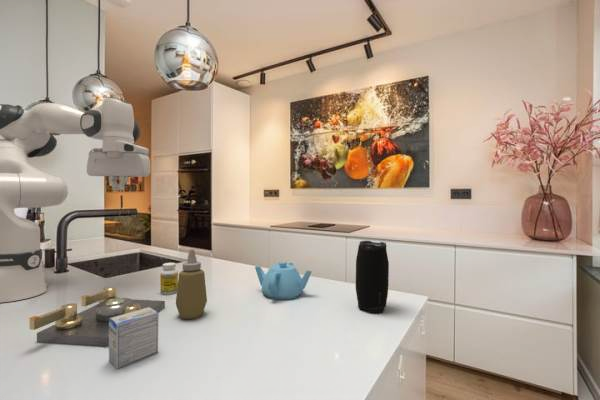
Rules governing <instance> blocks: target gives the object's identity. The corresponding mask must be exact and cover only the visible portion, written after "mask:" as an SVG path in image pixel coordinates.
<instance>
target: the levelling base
mask: <svg viewBox="0 0 600 400" xmlns="http://www.w3.org/2000/svg"><path fill="white" fill-rule="evenodd" d="M148 307H149V308H151V309H153V310H155V311H156V312H158V313H160V312H161V311H162V310H164V309H165V308H166V300H151V299H133V298H128V297H119V298H116V299H111V300H107V301H103V302H101V303H99V302H98V303H97V304H96V305H93V306H91V307H89V308H87V309H85V310H82V311H80V312H77V316H82V323H81V324H79V325H77V326H75V327H71V328H67V329H57V328H55V324H53V325H51V326H49V327H46V328H44V329H43V330H40V331H38V332H36V343H47V344H62V345H74V346H75V345H76V346H77V345H78V346H90V347H91V346H94V347H108V348H109V319H110V318H113V317H116V316H119V315H123V314H126V313H130V312H133V311H137V310H141V309H144V308H148Z"/></svg>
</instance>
